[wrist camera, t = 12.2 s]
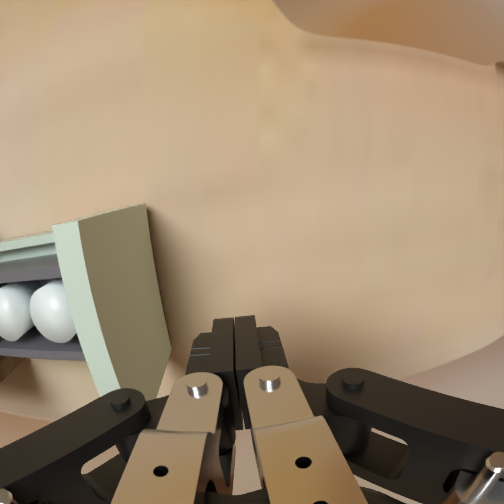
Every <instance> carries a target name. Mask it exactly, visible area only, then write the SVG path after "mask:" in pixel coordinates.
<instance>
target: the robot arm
mask: <svg viewBox="0 0 504 504" xmlns="http://www.w3.org/2000/svg"><path fill="white" fill-rule="evenodd" d="M242 412H243V417H242ZM243 418H244V424H245V429H251V436H252V442H253V448H254V453H255V458H256V463H257V468H258V473H259V477H260V482H261V487H262V489H261V490H257V491H254V492H250V493H246V494H242V495H232V491H233V478H234V466H235V452H236V447H235V439H236V435H235V434H236V433H235V430H243ZM372 428H375V429H377V430H380V431H382V432H385V433H387V434H390V435H393V436H395V437H398V438H400V439H402V440H404V441H405V442H406V443H407V444H408V445H405V444H402V443H399V442H397V441H394V440H392V439H389V438H387V437H384V436H382V435H379V434H377V433H374V432H371V429H372ZM114 445H116V447H117V449H118V451H119V452H120V454H118V455H116V456H115V457H113V458H112V459H110V460H109V461H107V462H106V463H104V464H102V465H101V466H99V467H97V468H96V469H94V470H93V471H91V472H89V473H87V474H81V468H82V466H83V465H84V464H85V463H86V462H88V461H89V460H91V459H93V458H94V457H96V456H98V455H99V454H101V453H103V452H104V451H106V450H107V449H109V448H111V447H112V446H114ZM353 474H354V475H356V476H358V477H360V478H362V479H364V480H367V481H369V482H371V483H373V484H375V485H378V486H380V487H383V488H385V489H387V490H389V491H392V492H394V493H397V494H399V495H401V496H404V497H406V498H409V499H412V500H414V501H417V502H420V503H423V504H504V409H500V408H496V407H492V406H488V405H484V404H480V403H475V402H471V401H468V400H464V399H460V398H456V397H453V396H449V395H445V394H442V393H438V392H435V391H431V390H428V389H424V388H421V387H418V386H414V385H411V384H408V383H405V382H402V381H398V380H395V379H392V378H389V377H386V376H383V375H380V374H377V373H374V372H371V371H368V370H364V369H360V368H347V369H342V370H339V371H337V372H335V373H333V374H332V375H331V376H330V377H329V378H328V379H327V382H326V384H315V383H307V382H303V381H300V380H298V379H296V377H295V375H294V373H293V372H292V371H291V370H289V368H288V364H287V361H286V357H285V354H284V351H283V347H282V344H281V341H280V337H279V334H278V332H277V331H276V330H275V329H273V328H272V327H271V326H268V327H259V328H256V322H255V316H254V315H251V316H242V317H235V324H234V318H223V319H214V320H213V327H212V332H210V333H201V334H200V335H199V336H198V337H197V338H196V339H195V340H194V341H193V345H192V350H191V353H190V358H189V362H188V366H187V371H186V375H185V376H183V377H181V378H180V379H178V380H177V381H176V382H175V383H174V385H173V387H172V390H171V392H170V395H168V396H165V397H162V398H157V399H153V400H148V401H146V400H145V397H144V395H143V394H142V393H141V392H140V391H138V390H136V389H131V388H122V389H117V390H113V391H111V392H109V393H107V394H105V395H103V396H101V397H100V398H98V399H96V400H94V401H92V402H90V403H89V404H87V405H85V406H83V407H81V408H79V409H77V410H76V411H74V412H72V413H70V414H68V415H66V416H64V417H62V418H60V419H59V420H57V421H55V422H53V423H51V424H49V425H47V426H45V427H43V428H41V429H39V430H37V431H35V432H33V433H31V434H29V435H27V436H25V437H23V438H21V439H19V440H17V441H15V442H13V443H11V444H9V445H6V446H4V447H3V448H0V504H406V503H403V502H401V501H399V500H397V499H394V498H392V497H390V496H388V495H386V494H383V493H381V492H378V491H375V490H372V489H369V488H365V487H360V486H359V485H358V483H357V481H356V479H355V477H354V475H353Z"/></svg>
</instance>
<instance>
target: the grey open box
mask: <svg viewBox="0 0 504 504" xmlns="http://www.w3.org/2000/svg"><path fill="white" fill-rule="evenodd" d="M0 355H3V356H13V357H24V358H37V359H54V360H79V361H86V359H85V356H84V353H83V350H82V347H81V344H80V341H79V338H78V335H77V332H76V329H75V325H74V322H73V319H72V315H71V312H70V308H69V304H68V301H67V297H66V293H65V289H64V285H63V280H62V276H61V272H60V267H59V262H58V257H57V254H51V255H44V256H37V257H30V258H23V259H17V260H10V261H4V262H1V263H0Z"/></svg>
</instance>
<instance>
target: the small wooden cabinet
mask: <svg viewBox="0 0 504 504" xmlns="http://www.w3.org/2000/svg"><path fill="white" fill-rule="evenodd" d="M23 359H24V357H13V356H3V355H0V383H1V382H2V380H3V379H4V378H5V377H6V376H7V375H8V374H9V373H10V372H11V371H12V370H13V369H14V368H15V367H16V366H17V365H18V364H19V363H20V362H21V361H22V360H23Z"/></svg>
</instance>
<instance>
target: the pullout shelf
mask: <svg viewBox="0 0 504 504" xmlns="http://www.w3.org/2000/svg"><path fill="white" fill-rule="evenodd" d="M52 229H53V231H49V232H43V233H38V234H33V235H28V236H22V237H17V238H12V239H7V240H3V241H0V263H1V262H4V261H10V260H17V259H23V258H30V257H37V256H44V255H51V254H57V257H58V262H59V267H60V272H61V276H62V280H63V285H64V289H65V293H66V297H67V301H68V304H69V308H70V312H71V315H72V319H73V322H74V325H75V329H76V332H77V335H78V338H79V341H80V344H81V347H82V350H83V353H84V356H85V359H86V362H87V364H88V367H89V370H90V373H91V375H92V378H93V380H94V383H95V385H96V388H97V390H98V393H99V395H100V397H101V396H103V395H105V394H107V393H109V392H111V391H113V390H117V389H122V388H131V389H136V390H138V391H140V392H141V393H142V394H143V395H144V397H145V400H146V401H148V400H153V399H156V398H157V394H158V391H159V388H160V385H161V382H162V378H163V375H164V372H165V369H166V366H167V363H168V360H169V357H170V354H171V351H172V348H171V344H170V340H169V335H168V331H167V326H166V322H165V317H164V312H163V307H162V302H161V297H160V292H159V287H158V281H157V275H156V270H155V264H154V258H153V252H152V245H151V239H150V232H149V225H148V217H147V210H146V203H145V204H138V205H131V206H126V207H122V208H118V209H114V210H109V211H105V212H101V213H97V214H93V215H89V216H86V217H82V218H78V219H74V220H71V221H67V222H63V223H60V224H56V225H52Z"/></svg>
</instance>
